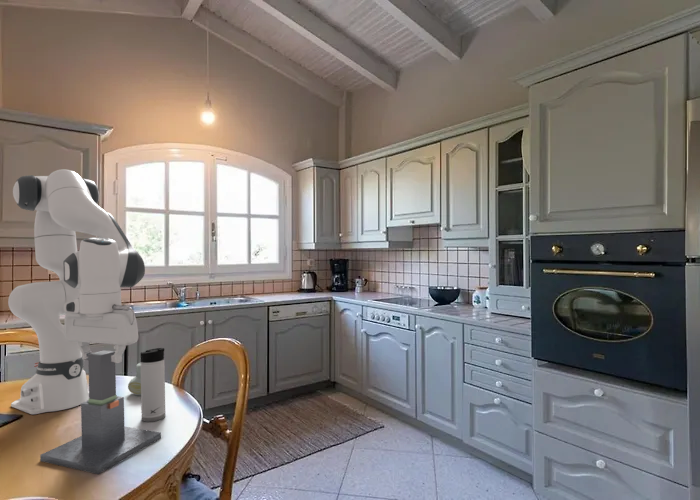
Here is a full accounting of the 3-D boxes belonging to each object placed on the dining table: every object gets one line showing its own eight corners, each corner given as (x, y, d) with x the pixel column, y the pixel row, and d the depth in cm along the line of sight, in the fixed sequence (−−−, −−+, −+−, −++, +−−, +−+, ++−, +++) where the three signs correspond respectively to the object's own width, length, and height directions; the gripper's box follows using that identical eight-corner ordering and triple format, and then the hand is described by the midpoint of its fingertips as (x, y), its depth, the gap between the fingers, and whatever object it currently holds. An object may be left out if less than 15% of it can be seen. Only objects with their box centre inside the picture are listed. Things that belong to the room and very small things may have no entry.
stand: (40, 461, 98) (39, 409, 98) (108, 429, 115) (107, 385, 115) (98, 474, 92) (97, 418, 92) (161, 438, 109) (160, 391, 109)
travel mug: (157, 422, 119) (155, 351, 119) (136, 421, 120) (135, 350, 120) (171, 414, 125) (169, 346, 125) (151, 412, 126) (149, 345, 126)
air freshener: (123, 395, 142) (123, 365, 142) (143, 387, 150) (143, 359, 150) (149, 398, 138) (148, 368, 138) (168, 390, 146) (167, 361, 146)
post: (89, 420, 102) (87, 354, 102) (104, 414, 106) (102, 350, 106) (102, 422, 101) (100, 355, 101) (117, 416, 105) (115, 351, 105)
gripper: (144, 303, 103) (145, 360, 103) (82, 301, 110) (83, 354, 110) (122, 307, 97) (123, 368, 97) (58, 304, 104) (59, 361, 104)
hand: (101, 361), depth 104 cm, fingers open, 8 cm apart
